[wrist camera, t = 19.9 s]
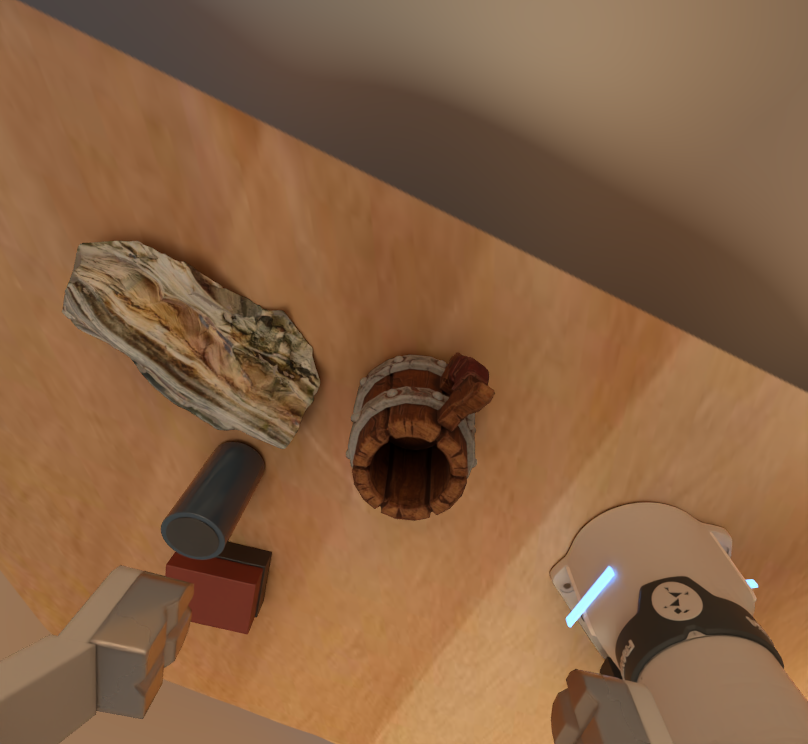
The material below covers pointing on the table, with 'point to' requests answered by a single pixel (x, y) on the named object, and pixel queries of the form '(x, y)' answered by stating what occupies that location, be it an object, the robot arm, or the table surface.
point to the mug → (416, 433)
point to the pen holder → (213, 502)
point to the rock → (195, 339)
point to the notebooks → (225, 585)
